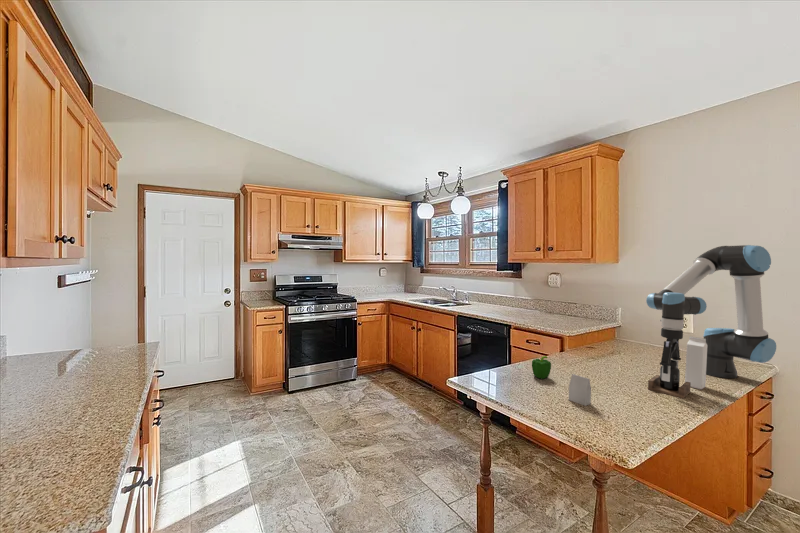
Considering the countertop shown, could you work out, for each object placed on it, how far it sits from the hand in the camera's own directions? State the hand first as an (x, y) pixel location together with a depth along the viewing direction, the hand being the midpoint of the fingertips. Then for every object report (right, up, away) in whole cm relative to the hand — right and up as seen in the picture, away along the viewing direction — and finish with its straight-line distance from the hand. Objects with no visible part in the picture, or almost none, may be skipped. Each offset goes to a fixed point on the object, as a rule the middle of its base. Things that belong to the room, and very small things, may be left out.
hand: (669, 377), depth 157 cm
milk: (+16, -6, +7) cm, 19 cm away
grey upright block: (-47, -5, -15) cm, 49 cm away
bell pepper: (-51, -4, +13) cm, 52 cm away
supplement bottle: (0, -5, 0) cm, 5 cm away
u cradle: (0, -6, 0) cm, 6 cm away
